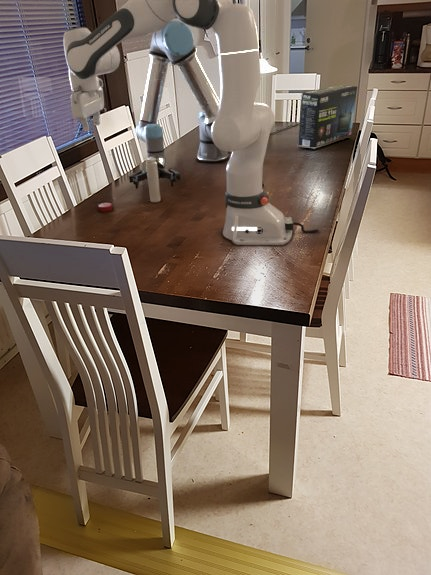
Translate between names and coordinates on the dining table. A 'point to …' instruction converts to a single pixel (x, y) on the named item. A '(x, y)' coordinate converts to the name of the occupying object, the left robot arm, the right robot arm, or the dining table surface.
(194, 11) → the right robot arm
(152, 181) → the white cylinder
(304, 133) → the router box
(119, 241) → the dining table surface
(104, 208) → the lid
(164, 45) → the left robot arm
